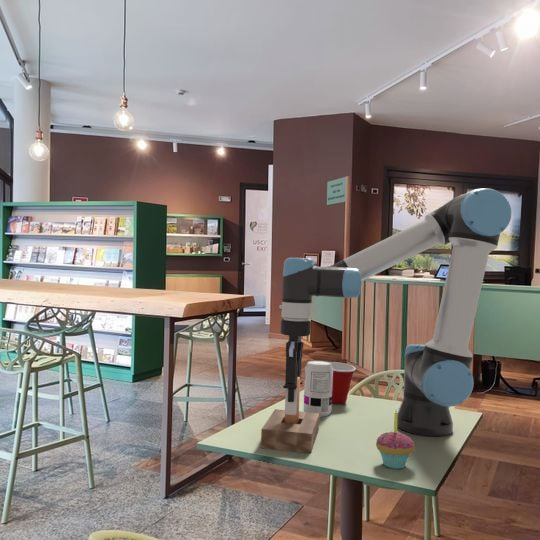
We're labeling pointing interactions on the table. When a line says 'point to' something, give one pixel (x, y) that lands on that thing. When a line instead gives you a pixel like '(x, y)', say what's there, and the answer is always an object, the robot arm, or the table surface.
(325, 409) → the supplement can
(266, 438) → the hole block
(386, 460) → the cupcake
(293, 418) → the dowel pin
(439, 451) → the table surface
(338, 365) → the plastic cup
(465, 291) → the robot arm
